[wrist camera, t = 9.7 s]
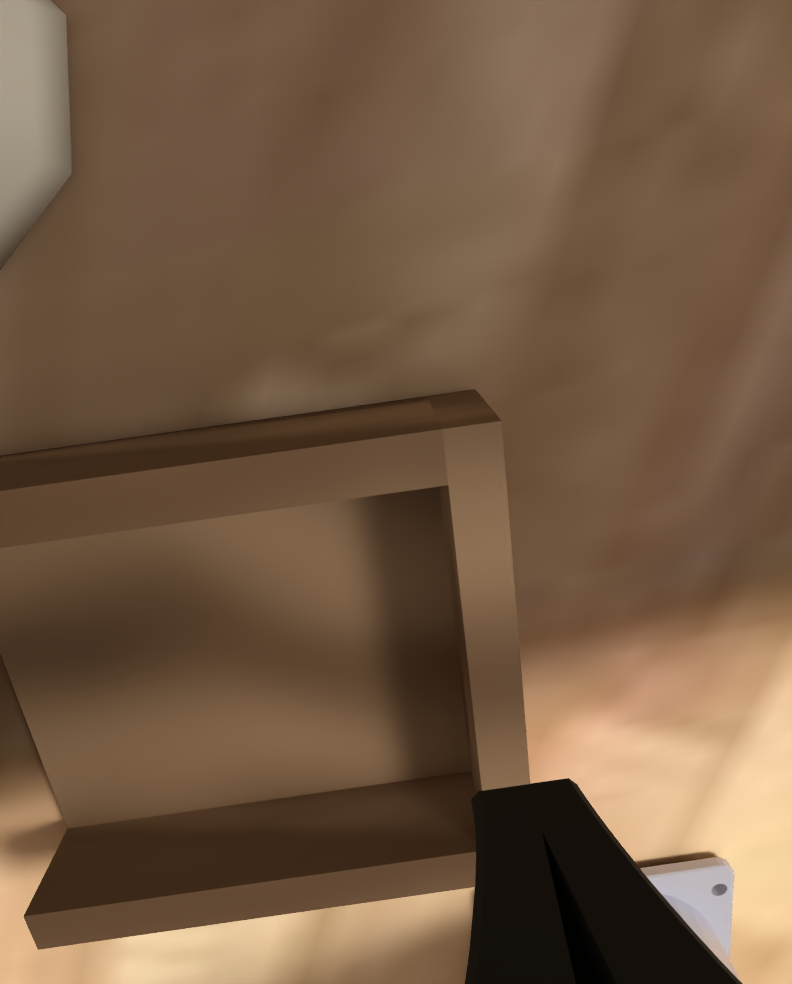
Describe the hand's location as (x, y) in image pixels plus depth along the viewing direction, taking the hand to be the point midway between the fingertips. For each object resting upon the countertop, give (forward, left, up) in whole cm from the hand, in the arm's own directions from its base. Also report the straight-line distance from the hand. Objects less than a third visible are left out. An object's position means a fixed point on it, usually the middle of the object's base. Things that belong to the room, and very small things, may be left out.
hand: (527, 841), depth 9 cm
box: (-2, +6, -9) cm, 11 cm away
